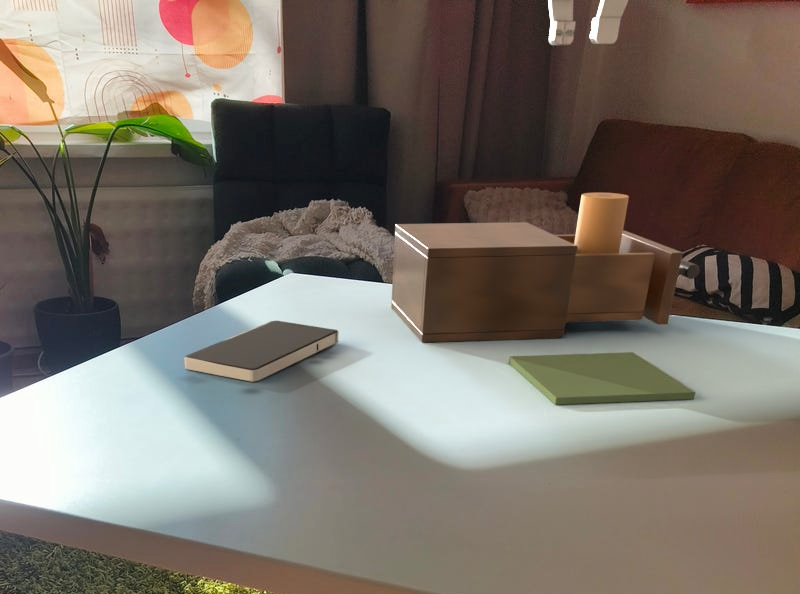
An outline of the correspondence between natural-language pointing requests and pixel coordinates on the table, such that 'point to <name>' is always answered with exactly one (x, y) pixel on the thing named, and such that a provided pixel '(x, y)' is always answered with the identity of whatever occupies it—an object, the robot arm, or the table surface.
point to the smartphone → (261, 350)
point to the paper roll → (600, 223)
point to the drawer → (626, 282)
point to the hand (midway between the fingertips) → (580, 44)
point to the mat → (599, 378)
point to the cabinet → (481, 281)
